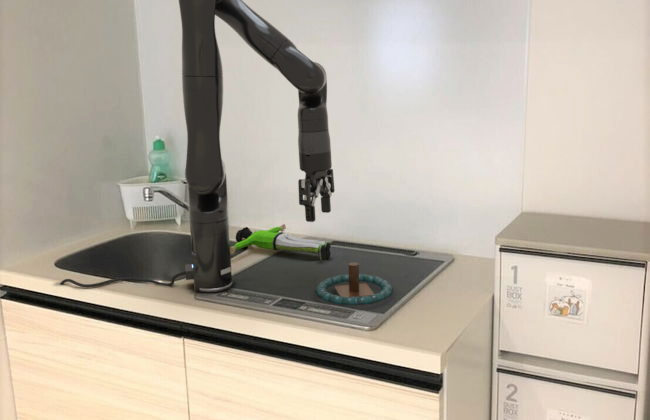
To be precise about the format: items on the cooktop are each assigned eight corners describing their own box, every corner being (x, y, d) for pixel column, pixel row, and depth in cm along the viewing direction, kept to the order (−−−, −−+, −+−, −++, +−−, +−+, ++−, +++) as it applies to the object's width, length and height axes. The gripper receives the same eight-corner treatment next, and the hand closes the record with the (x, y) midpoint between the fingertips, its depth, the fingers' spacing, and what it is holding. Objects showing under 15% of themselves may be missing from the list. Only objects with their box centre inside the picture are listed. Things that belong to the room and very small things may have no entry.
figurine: (351, 248, 198) (266, 234, 213) (351, 227, 197) (266, 215, 212) (298, 277, 175) (207, 260, 190) (297, 254, 173) (205, 238, 188)
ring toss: (341, 302, 157) (340, 270, 155) (333, 290, 164) (333, 260, 162) (375, 299, 158) (375, 267, 156) (366, 287, 166) (365, 257, 164)
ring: (324, 313, 151) (324, 302, 150) (310, 285, 168) (309, 276, 167) (402, 304, 154) (402, 294, 154) (380, 279, 171) (380, 269, 171)
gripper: (313, 144, 168) (317, 208, 172) (285, 154, 155) (290, 223, 159) (341, 144, 164) (345, 210, 168) (315, 155, 152) (319, 225, 156)
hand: (318, 216), depth 164 cm, fingers open, 8 cm apart
